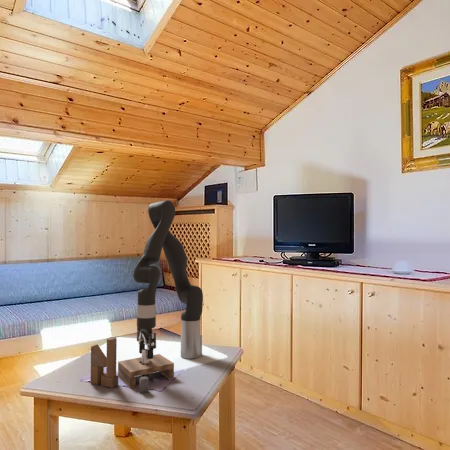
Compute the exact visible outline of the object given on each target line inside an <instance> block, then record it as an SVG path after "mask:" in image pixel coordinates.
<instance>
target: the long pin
mask: <svg viewBox="0 0 450 450" xmlns="http://www.w3.org/2000/svg"><path fill="white" fill-rule="evenodd" d="M141 357H142V365H146V364H150V359H148V358H147V348H145V349H142V353H141ZM150 375H151V373H149V374H144V375H140V376H141V377H148V378H149V379H150V377H151V376H150ZM141 377H140V378H141Z"/></svg>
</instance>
